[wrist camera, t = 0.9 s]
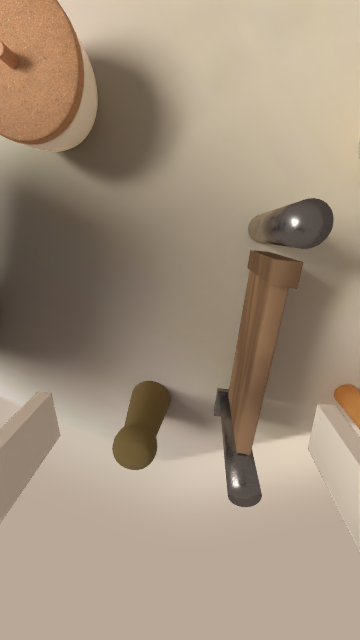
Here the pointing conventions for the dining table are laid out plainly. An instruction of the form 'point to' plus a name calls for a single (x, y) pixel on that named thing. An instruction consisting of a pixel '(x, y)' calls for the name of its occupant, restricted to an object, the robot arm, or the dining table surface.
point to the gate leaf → (258, 339)
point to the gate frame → (242, 481)
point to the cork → (141, 426)
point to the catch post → (349, 401)
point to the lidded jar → (44, 77)
